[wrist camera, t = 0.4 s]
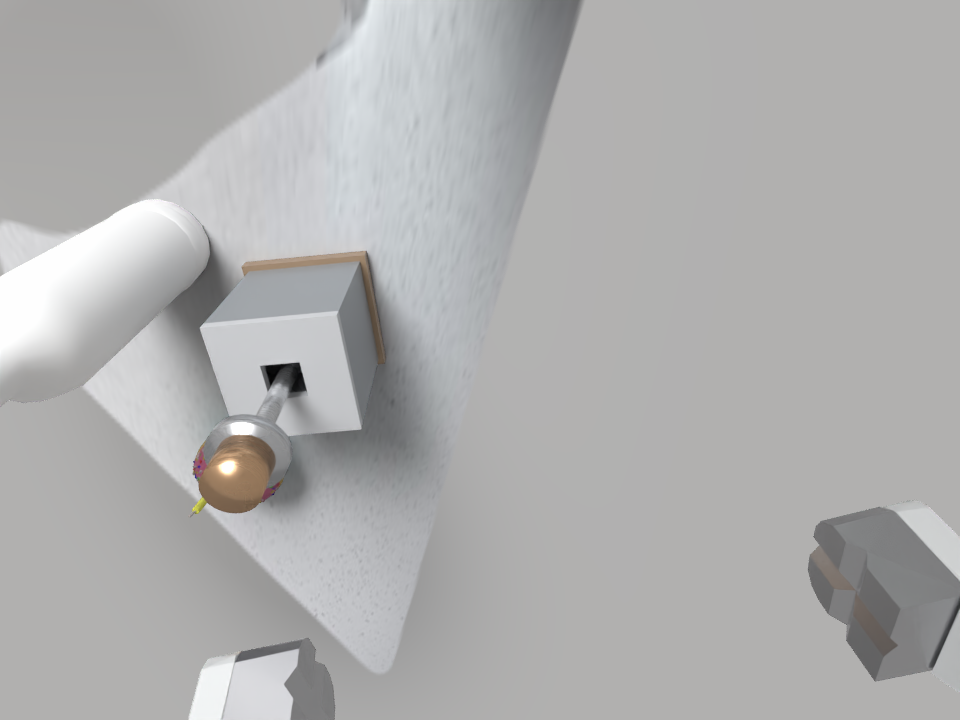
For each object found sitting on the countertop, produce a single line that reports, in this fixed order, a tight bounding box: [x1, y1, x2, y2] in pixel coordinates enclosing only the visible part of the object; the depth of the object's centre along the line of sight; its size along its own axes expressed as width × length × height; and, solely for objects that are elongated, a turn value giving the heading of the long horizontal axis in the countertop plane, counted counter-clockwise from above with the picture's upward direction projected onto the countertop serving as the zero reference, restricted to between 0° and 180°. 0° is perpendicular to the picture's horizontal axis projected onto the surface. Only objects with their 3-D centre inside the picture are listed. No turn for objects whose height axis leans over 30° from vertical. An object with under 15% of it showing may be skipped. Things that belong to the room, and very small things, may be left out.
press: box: [200, 251, 386, 436], centre depth 52 cm, size 11×11×13 cm
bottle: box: [0, 199, 210, 407], centre depth 41 cm, size 8×8×30 cm
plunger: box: [199, 362, 307, 513], centre depth 44 cm, size 8×8×18 cm
